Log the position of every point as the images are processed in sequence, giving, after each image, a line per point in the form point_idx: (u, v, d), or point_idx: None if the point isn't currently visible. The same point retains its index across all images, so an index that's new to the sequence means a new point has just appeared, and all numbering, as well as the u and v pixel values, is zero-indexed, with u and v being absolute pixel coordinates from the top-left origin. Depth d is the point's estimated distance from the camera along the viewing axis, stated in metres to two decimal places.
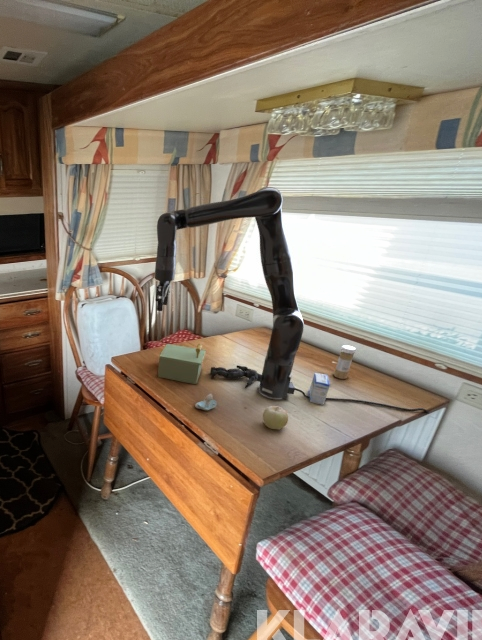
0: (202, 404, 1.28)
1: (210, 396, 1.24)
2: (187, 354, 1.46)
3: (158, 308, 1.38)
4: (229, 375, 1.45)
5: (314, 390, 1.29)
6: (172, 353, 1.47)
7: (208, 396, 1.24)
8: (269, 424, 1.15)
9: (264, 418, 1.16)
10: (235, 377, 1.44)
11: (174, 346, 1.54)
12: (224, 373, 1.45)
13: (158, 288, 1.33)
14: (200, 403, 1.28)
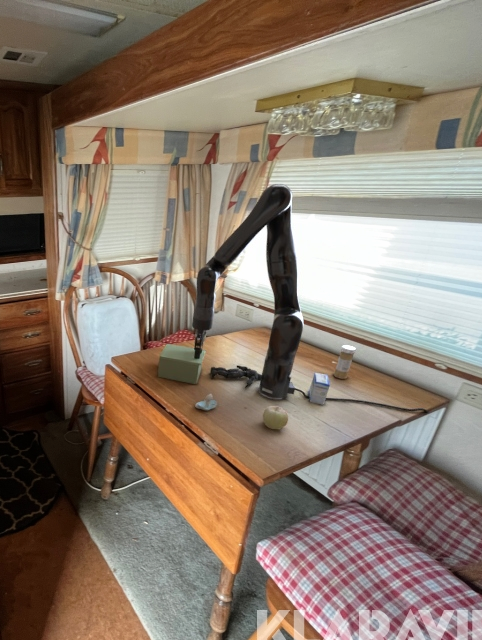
0: (202, 404, 1.28)
1: (210, 396, 1.24)
2: (187, 354, 1.46)
3: (196, 356, 1.42)
4: (229, 375, 1.45)
5: (314, 390, 1.29)
6: (172, 353, 1.47)
7: (208, 396, 1.24)
8: (269, 424, 1.15)
9: (264, 418, 1.16)
10: (235, 377, 1.44)
11: (174, 346, 1.54)
12: (224, 373, 1.45)
13: (196, 340, 1.36)
14: (200, 403, 1.28)
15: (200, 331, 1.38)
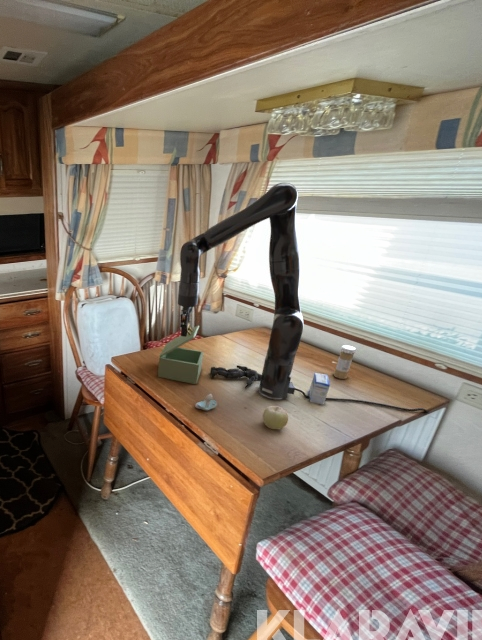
0: (202, 404, 1.28)
1: (210, 396, 1.24)
2: (181, 339, 1.45)
3: (182, 334, 1.41)
4: (229, 375, 1.45)
5: (314, 390, 1.29)
6: (169, 346, 1.47)
7: (208, 396, 1.24)
8: (269, 424, 1.15)
9: (264, 418, 1.16)
10: (235, 377, 1.44)
11: (172, 341, 1.53)
12: (224, 373, 1.45)
13: (182, 316, 1.35)
14: (200, 403, 1.28)
15: (185, 308, 1.37)
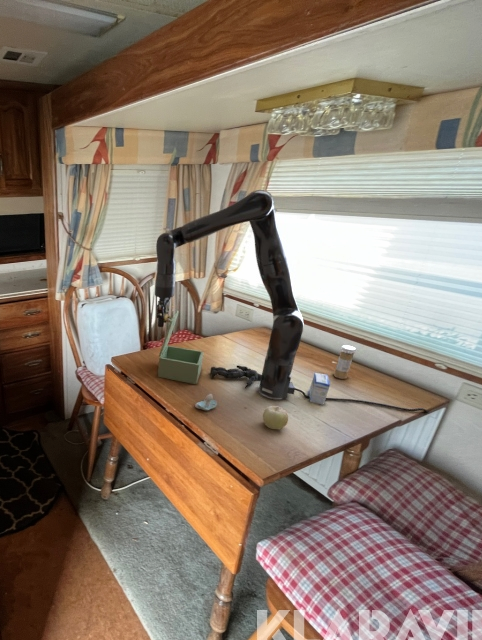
0: (202, 404, 1.28)
1: (210, 396, 1.24)
2: None
3: (159, 324, 1.44)
4: (229, 375, 1.45)
5: (314, 390, 1.29)
6: None
7: (208, 396, 1.24)
8: (269, 424, 1.15)
9: (264, 418, 1.16)
10: (235, 377, 1.44)
11: None
12: (224, 373, 1.45)
13: (158, 307, 1.38)
14: (200, 403, 1.28)
15: (162, 299, 1.39)
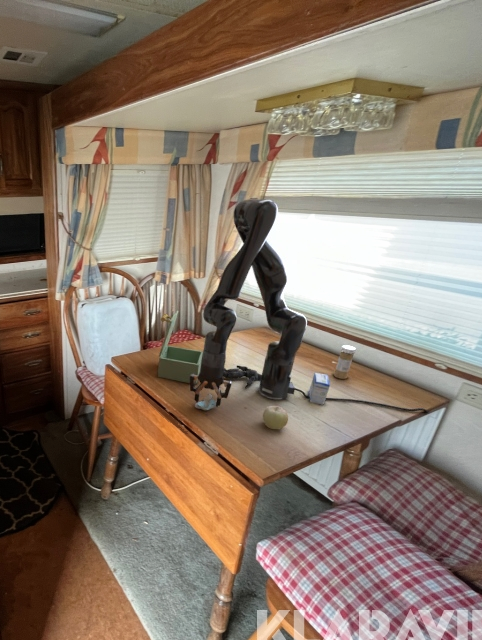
0: (202, 404, 1.28)
1: (210, 396, 1.24)
2: None
3: (195, 397, 1.29)
4: (229, 375, 1.45)
5: (314, 390, 1.29)
6: None
7: (208, 396, 1.24)
8: (269, 424, 1.15)
9: (264, 418, 1.16)
10: (235, 377, 1.44)
11: None
12: (224, 373, 1.45)
13: None
14: (200, 403, 1.28)
15: None
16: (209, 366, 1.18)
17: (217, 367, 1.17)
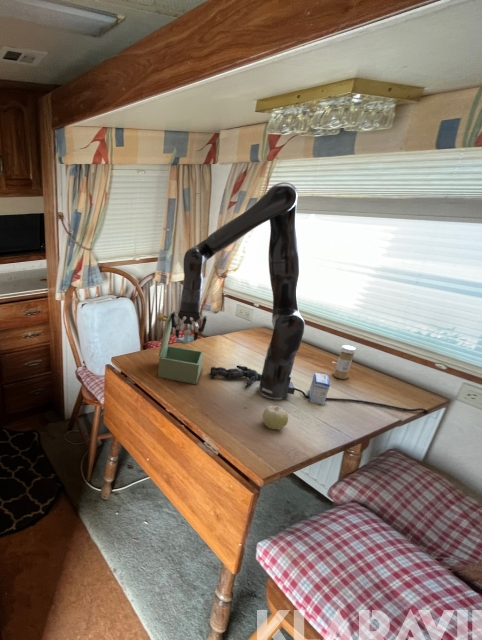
0: (182, 339, 1.46)
1: (188, 330, 1.42)
2: None
3: None
4: (229, 375, 1.45)
5: (314, 390, 1.29)
6: None
7: (186, 330, 1.42)
8: (269, 424, 1.15)
9: (264, 418, 1.16)
10: (235, 377, 1.44)
11: None
12: (224, 373, 1.45)
13: None
14: (180, 338, 1.46)
15: None
16: (187, 301, 1.36)
17: (194, 302, 1.35)
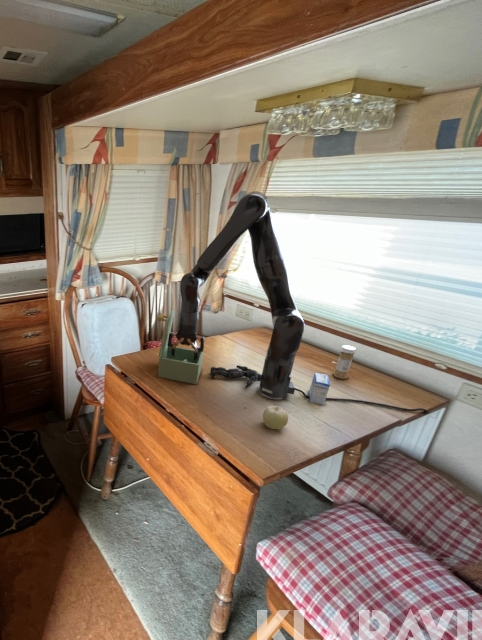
0: None
1: (185, 361, 1.47)
2: None
3: None
4: (229, 375, 1.45)
5: (314, 390, 1.29)
6: None
7: None
8: (269, 424, 1.15)
9: (264, 418, 1.16)
10: (235, 377, 1.44)
11: None
12: (224, 373, 1.45)
13: None
14: None
15: None
16: (184, 324, 1.39)
17: (191, 324, 1.39)
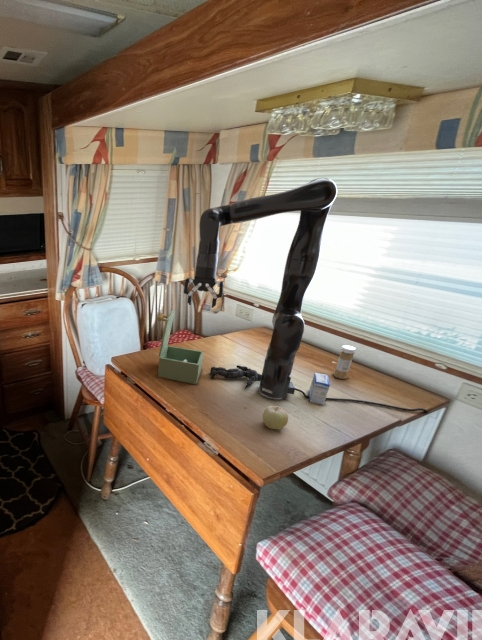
0: None
1: (185, 361, 1.47)
2: None
3: (188, 301, 1.41)
4: (229, 375, 1.45)
5: (314, 390, 1.29)
6: None
7: None
8: (269, 424, 1.15)
9: (264, 418, 1.16)
10: (235, 377, 1.44)
11: None
12: (224, 373, 1.45)
13: None
14: None
15: None
16: (203, 266, 1.30)
17: (210, 267, 1.30)
